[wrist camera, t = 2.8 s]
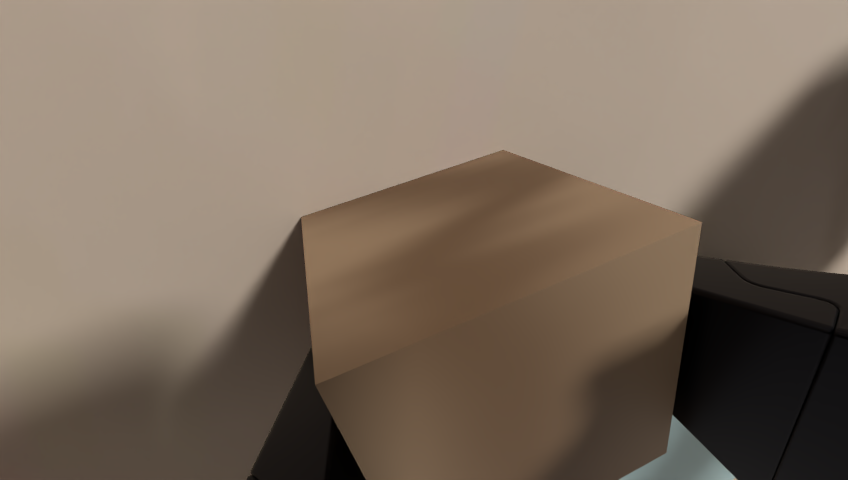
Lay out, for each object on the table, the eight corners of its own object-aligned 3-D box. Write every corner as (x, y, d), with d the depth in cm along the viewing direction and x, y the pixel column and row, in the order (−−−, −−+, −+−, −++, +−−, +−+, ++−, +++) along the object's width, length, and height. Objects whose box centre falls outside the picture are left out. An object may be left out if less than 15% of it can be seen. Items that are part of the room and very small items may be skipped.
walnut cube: (503, 150, 9) (701, 222, 5) (522, 307, 11) (666, 453, 7) (301, 217, 8) (315, 385, 4) (367, 373, 10) (424, 587, 6)
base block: (713, 266, 14) (806, 309, 12) (693, 409, 19) (758, 463, 16) (512, 366, 13) (567, 440, 10) (540, 495, 17) (585, 571, 15)
